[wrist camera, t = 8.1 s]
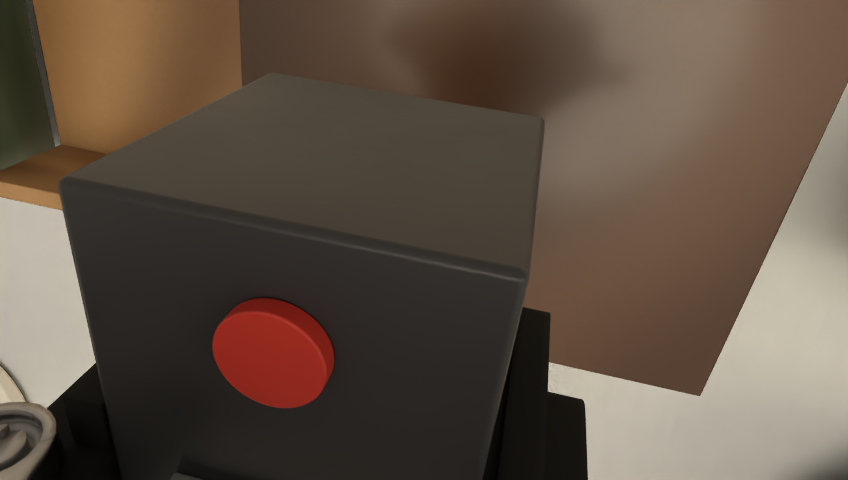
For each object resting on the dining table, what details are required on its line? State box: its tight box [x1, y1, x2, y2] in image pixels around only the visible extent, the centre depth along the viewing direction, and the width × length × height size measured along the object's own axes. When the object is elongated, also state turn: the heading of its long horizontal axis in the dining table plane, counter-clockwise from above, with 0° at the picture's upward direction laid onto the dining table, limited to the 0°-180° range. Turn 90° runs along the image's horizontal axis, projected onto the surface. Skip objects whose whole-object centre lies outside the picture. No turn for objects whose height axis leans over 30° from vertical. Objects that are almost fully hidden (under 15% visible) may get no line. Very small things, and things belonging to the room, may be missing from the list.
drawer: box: [0, 0, 242, 210], centre depth 24 cm, size 21×13×6 cm, turn 84°
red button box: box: [58, 73, 545, 480], centre depth 9 cm, size 4×9×5 cm, turn 174°
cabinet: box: [239, 0, 848, 396], centre depth 22 cm, size 18×15×8 cm
